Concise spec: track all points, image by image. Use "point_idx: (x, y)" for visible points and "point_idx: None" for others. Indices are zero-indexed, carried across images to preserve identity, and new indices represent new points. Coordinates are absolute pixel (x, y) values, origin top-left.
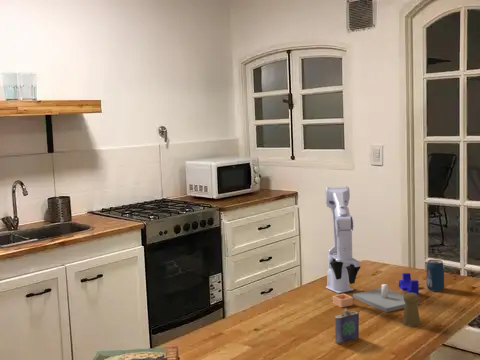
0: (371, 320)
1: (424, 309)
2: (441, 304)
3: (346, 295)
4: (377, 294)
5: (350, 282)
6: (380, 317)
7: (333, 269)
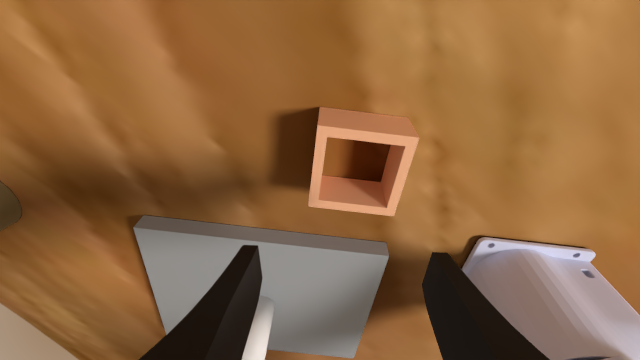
0: (58, 90)
1: (123, 310)
2: None
3: (360, 204)
4: (308, 308)
5: (236, 254)
6: (90, 155)
7: (526, 343)
